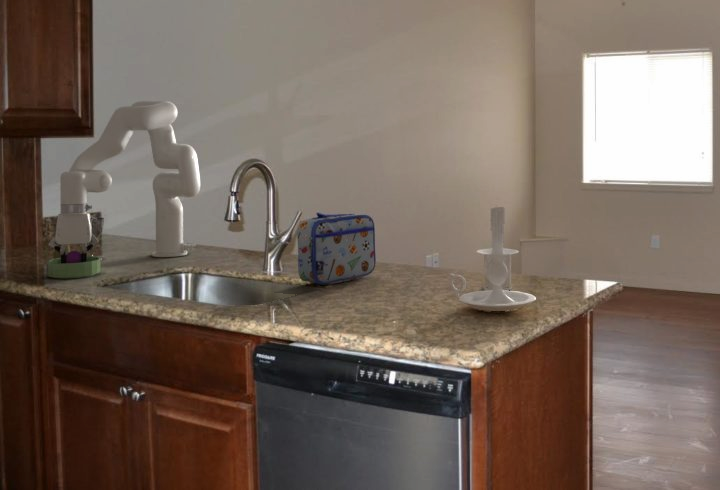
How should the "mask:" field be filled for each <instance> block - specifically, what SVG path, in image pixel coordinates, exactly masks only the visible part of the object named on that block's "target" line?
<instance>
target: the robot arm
mask: <svg viewBox="0 0 720 490" xmlns="http://www.w3.org/2000/svg"><path fill="white" fill-rule="evenodd" d="M178 114H179V112H178V107H177V106H176V104H174V103H173V102H172V101H168V100H141V101H136V102H134V103H132V104H131V106H129V105H128V106H127V105H126V106H120V107H117V109H115V110H114V112H113V113H112V114H111V117H110V119H109V120H108V122H107V124H106V126H105V128H104V130H103V132H102V134H101V135H100V137H99V138H98V140H97V141H95V142H94V143H93V144H91V145H90V146H88V147H87V148H86V149H85V150H83V151H82V152H81V153H80V154H79V155H78V156H77V157H76V159H75V160H74V161H73V163H72V165H71V167H70V168H69V171H63V172H62V173H61V174H60V213H58V214H57V217H56V218H57V219H56V227H55V235H54V236H53V237H52V239H51V240H50V241H49V242H48V247H50V248H52V249H54V251H55V250H57V251H58V252H59V253H60V254H61V263H66V255H67V254H66V251H65V249H66V245H69V246H73V245H75V246H76V245H80V246H81V249H82V251H81V262H87V256H88V252H89V251H91V250H90V249H91V248H92V247H93V248H94V247H95V246H96V245H98V244H99V243H100V241H99V239H98V238H96V237H95V236H94V235H93V234H92V225H91V212H88V211H90V210H93V205H90V204H88V193H97V194H99V193H103V192H106V191H108V190H109V189H110V188H111V186H112V183H113V179H112V176H111V174H110V173H108V171H105V170H102V169H94V168H95V167H97V166H98V165H99V164H101V163H102V162H104V161H106V160H108V159H111V158H113V157H116V156H118V155H120V154H122V153H123V152H124V151H125V149H126V147H127V145H128V143H129V141H130V139H131V137H132V136H133V134H134V133H135V131H147V133H148V135H149V141H150V146H151V151H152V152H151V153H152V159H153V163H154V165H155V167H156V168H158V169H163V170H178V171H162V172H159V173H158V174H156V175H155V177H154V178H153V180H152V191H153V195H154V201H155V251H152V252H151V253H150V256H151V257H154V258H176V257H182V256H187V255H188V250H197V244H196V243H194V244H193V243H190V244H189V243H185V241H184V207H183V204H182V201H181V200H180V198H185V199H186V198H188V199H189V198H194V197H196V196H197V195H198V194H199V192H200V191H201V186H202V185H201V184H202V183H201V174H200V167H199V160H198V159H199V158H198V155H197V151H196V150H195V149H194V147H193V146H192V145H190V144H187V143H178V142H177V140H176V134H175V131H174V128H173V126H172V124H173V123H174V122H175V121H176V120H177V118H178ZM91 240H92V241H93V242H92V243H91V244H89V242H90V241H91ZM55 241H56V243H57V244H59V245H62V246H61V247H59V246H58V245H56V244H55ZM87 244H88V245H87Z"/></svg>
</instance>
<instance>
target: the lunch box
mask: <svg viewBox="0 0 720 490" xmlns="http://www.w3.org/2000/svg"><path fill="white" fill-rule="evenodd" d="M374 221H375V220H374V219H373V218H372V217H371V216H370V215H368V214H355V213H338V214H337V213H336V214H335V213H334V214H325V213H322V212H316V217H312V218H307V219H304V220H302V221H301V222H299V224H298V226H297V230H296V232H297V233H296V238H297V265H298V266H297V269H298V270H297V271H298V276H299V279H300V280H301V281H302V282H308V283H312V284H317V285H321V286H329V285H334V284H339V283H346V282H349V281H352V280H356V279H360V278H364V277H367V276H368V275H370V274H372V273H373V271H374V270H375V268H376V264H377V263H376V262H377V260H376V259H377V257H376V233H375V232H376V231H375V222H374Z"/></svg>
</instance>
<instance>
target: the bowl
mask: <svg viewBox="0 0 720 490" xmlns="http://www.w3.org/2000/svg"><path fill="white" fill-rule="evenodd" d="M100 258H101V257H99V256H94V255H93V256H90V255H87V262H80V263H61V258H56V259H54V258H52V259H49V260H47V261H46V277H49V278H52V279H60V280H61V279H62V280H63V279H64V280H67V279H68V280H69V279H81V278H88V277H92V276H95V275H98V274H99V273H101V269H102V267H101V263H102V262H101V260H100Z"/></svg>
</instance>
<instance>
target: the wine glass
mask: <svg viewBox="0 0 720 490" xmlns="http://www.w3.org/2000/svg"><path fill="white" fill-rule="evenodd" d="M90 217H91V216H90ZM91 225H92V234H93V235H94V236H95V237H96V238H97V239H99V238H100V236H101V235H102V234H103V231H104V227H105V217H99V216H98V217H97V216H96V217H95V216H94V217H93V216H92V217H91ZM92 242H93V241H92V240H91V241H90V242H89V243H88V245H90V244H91V243H92ZM89 251H90V255H89V256H94V247H92V248H91V249H90V250H89ZM99 258H100V261H101V260H103V258H102V257H99Z"/></svg>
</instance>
